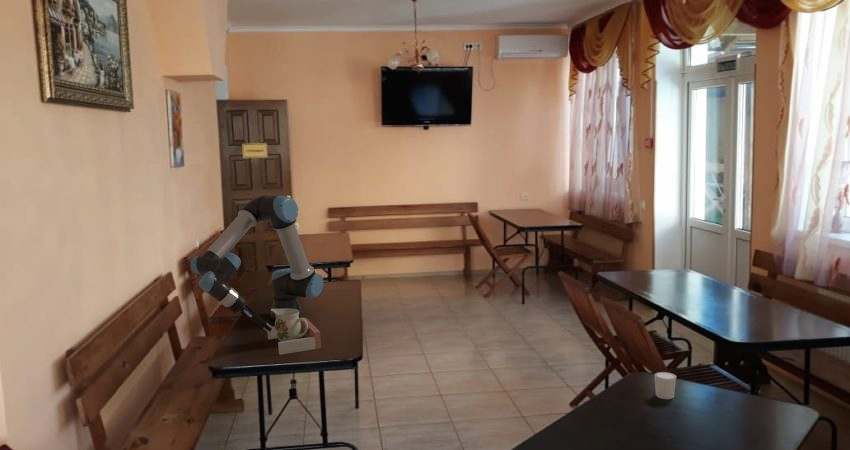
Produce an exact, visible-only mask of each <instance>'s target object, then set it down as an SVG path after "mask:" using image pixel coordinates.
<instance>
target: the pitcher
mask: <svg viewBox="0 0 850 450" xmlns="http://www.w3.org/2000/svg"><path fill="white" fill-rule="evenodd" d="M271 311H272V312H274V313H275V315H276V319H275V322H274V327H275V329H276V330H277V331H278V333H277V337H278V338H277V339H278V340H279V341H278V342H283V341H289V340H296V339H300V338H303V337H304V336H305V335H306V334H307V332H308V323H307V321H306V320H305V319H304V318H305V317H300V316H299V310H297V309H289V308H285V309H272V308H270V312H271ZM301 321H303V322H304V324H305V331H304V332H303V333H302V334H300V331H301Z"/></svg>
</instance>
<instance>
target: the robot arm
mask: <svg viewBox="0 0 850 450" xmlns="http://www.w3.org/2000/svg"><path fill="white" fill-rule="evenodd" d="M298 215H299V207H298V204H297V201H296V200H295V199H294V198H293V197H291V196H287V195H267V194H266V195H259V196H256V197H254V198H253V199H251V200H250V201H249V202H247V203H246V204H245V205H244V206H243V207H242V208H241V209H240V210H239V211H238V213H237V216H236V217H235V218H234V220H233V221H232V222H231V223H230V224H229V225H228V227H226V229H225V230H224V231H223V232H222V233H221V234H220V235H219V237H217V238H216V239H215V241H214V242H213V243H212V244H211V245H210V246H209V247H208V248H207V250H206V251H204V252H203V254H202V255H196V256H194V257H193V258H192V259H191V261H190V269H191V270H192V272H193V273H195V274H198V275H202V277H201V278H200V279H199V281H198V286H199V288H201V289H202V291H204V292H205V293H207V294H208V295H209V296H211V297H212V298H213V299H214V300H215V301H217V302H219V305H220V306H222V305H223V306H224V307H226V308H227V310H229V311H230V313H231V312H232V313H233V314H237V313H238V312H239V311H240V314H241V315H242V316H243V317H246V318H247V319H249V320H251V321H253V323H255V324H256V325H258V326H259V327H260V330H265V332H266V333H267V334H268V333H270V334H271V335H272V336H274V337H275V336H276V335H277V333H278V331H277V330H276V329H274V328H273V327H274V326H272V325H271V324H269V323H268V322H267V319H264V318H262V317H261V316H260V315H258V314H257V313H256V312H255V311H254V310H253V309H252V308H250V306H249V305H248V304H246V302H247V299H246V298H245V297H244V296H243V295H241V294H240V293H239V292H238V291H237V290H236V289H235V288H233V287H232V286H230V285H229V283H230V281H231V279H232V278H233V277H234V275H235V274H236V272H237V271H239V270H238V269H239V268H240V266H241V264H242V261H241V259H240V257H239V256H238V255H236V254H235V253H233V252H230V251H231V250H233V248H234V247H235V246H236V245H237V244H238V242H239V241H240V240H241V239H242V238H243V237H244V236H245V235H246V233H247V232H248V231H249V230H250V229H251V228H254V227H256V226H257V224H258V223H260V222H264V221H265V222H269V223H270V226H271V228H272V229H273V230H275V231H276V232H277V235H278V239H279V241H280V243H281V245H282V248H283V251H284V254H285V256H286V259H287V262H288V264H289V267H288V268H282V269H277V270H275V271H273V272H272V273H271V284H272V296H273V302H272V305H271V309H285V308H289V309H297V310H299V317H301V316H302V314H303V311H302V306H301V304H300V302H299V299H298V298H299V297H300V298H307V299H315V298H317V297H318V296H319V295H320V294H321V293H322V292H323V291H322V290H323V288H324V278H323V275H321V274H320V273H316V271H315V268H314V266H313V265H310V263H309V261H308V258H307V254H306V251H305V249H304V245H303V244H302V242H301V239H300V235H299V233H298V229H297V227H296V222H297V218H298ZM270 317H271V318H272V319H275V320H276V315H275V313H274V312H272V311H271V310H270Z"/></svg>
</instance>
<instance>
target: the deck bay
mask: <svg viewBox="0 0 850 450" xmlns="http://www.w3.org/2000/svg"><path fill="white" fill-rule="evenodd" d="M303 318H304V319H305V320H306V321H307V323H308V332H307V334H306V335H305V336H303V337H304V338H303V337H301V338H298V339H296V340H289V341H283V342H280V341H278V342H277V345H278V346H277V347H278V355H287V354H292V353H293V354H294V353H298V352H305V351H311V350H317V349H322V340H321V331H320V330H319V328H317V327H316V326H315V325H314V324H313V323H312V322H311V321H310V320H309V319H308V318H307V317H303ZM300 323H301V331H300V334H302V333H303V332H304V331H305V324H304V322H303V321H300ZM272 327H273V328H274V329H275V326H272ZM267 339H268V340H272V339H273V340H274V339H278V337H277V335H276V336H275V337H274V336H272V335H271V334H270V333H268V332H267Z"/></svg>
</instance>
